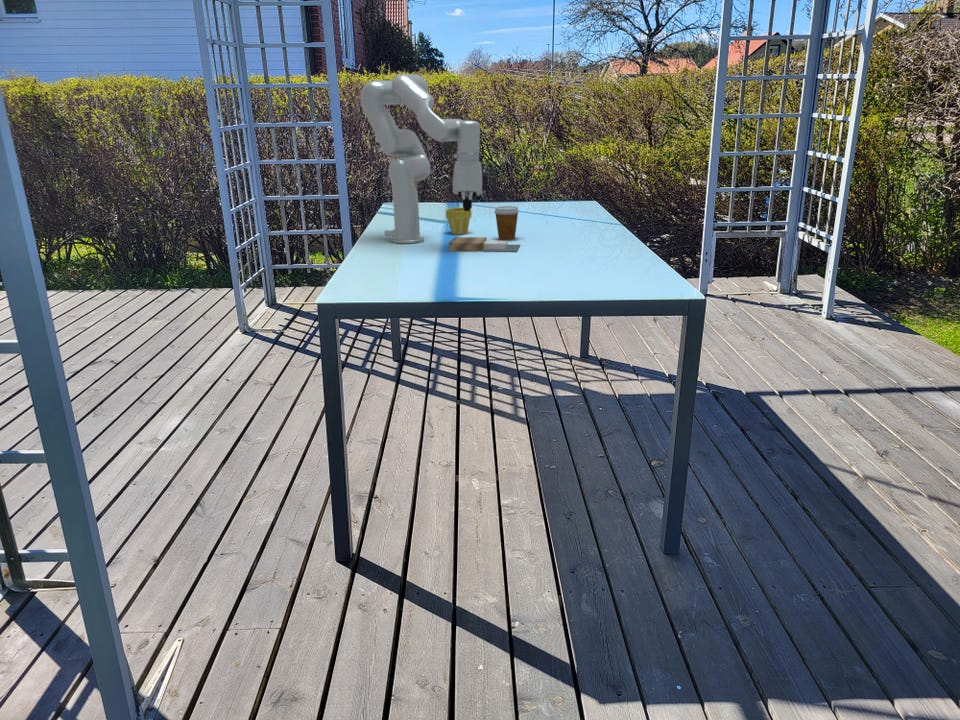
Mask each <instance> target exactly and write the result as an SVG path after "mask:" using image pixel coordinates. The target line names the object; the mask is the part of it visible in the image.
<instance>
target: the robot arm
mask: <svg viewBox="0 0 960 720" xmlns="http://www.w3.org/2000/svg"><path fill="white" fill-rule="evenodd" d="M428 91H429V85H428V82H427V81H426V79H425V78H424V77H423V76H421V75H419V74H407V73H402V74H398V75H397V76H395V77H394V78H393V79H392V80H387V79H386V80H385V79H384V80H382V79H381V80H380V79H378V80H377V79H375V80H370V81H368V82H366V83H364V85H363V86H362V89H361V92H360V104H361V108H362V111H363V113H364V115H365V117H366V119H367V120H368V122H369V123H370V125H371V128H372V130H373V133H374V134H375V137H376V138H377V141H378V143H379V145H380V147H381V150H382V151H383V153H384V154H385V155H386V156H389V157H394V158H393V159H392V160H391V161H390V163H389V165H388V176H389V180H390V184H391V191H392V202H393V207H392V208H393V219H394V220H393V222H394V229H392V230H384V236H387V237H392V238H391V241H390V242H392V243H395V244H416V243H422V242H423V241H425V237H424V236H422V235H421V234H420V233H421V231H420V230H421V229H420V214H419V213H420V211H419V195H418V190H417V187H416V185H415V183H414V182H421V181H423V180H426V179H427V178H428V177H429V176H430V173H431V163H430V160H429V159H428V156H427V153H426V152H425V150H424V148H423V145H422V143H421V141H420V139H419V137H418V135H417V134H416V133H415V132H414V131H412V130H411V129H406V128H405V129H401V128H398V126H397V124H396V122H395V120H394V118H393V116H392V114H391V112H389V111H388V110H387V109H386V108H385V105H386V106H387V105H388V106H389V105H390V106H391V105H394V106H395V105H402V104H403V105H405V106H406V107H408V109H409V110H410V111H412V112H413V113H414V114H415V115H416V120H417V122H418V125H419V127H420V128H421V130H422V131H424V132H425V134H427V135H428V136H429V137H430V138H431V139H432V140H434V141H436V142H439V143H446V142H457V152H456V153H454V154H453V158H454V159H456V161H454V167H453V175H452V193H453V194H454V195H458V196H459V197H460V198H461V199H462V208H464V211H470V209H471V210H472V205H473V199H474V198H475V197H476V196H479V195H480V196H481V195H483V193H484V192H483V168H482V163H481V161H480V141H481V140H480V139H481V138H480V132H481V128H480V127H481V126H480V123H479V122H478V121H476V120H463V119H460V118H440V117H439V116H438V115H437V114H436V113H434V112H433V110H432V109H433V107H434V106H435V105H434V104H435V99H434V97H433V95H431V94H430V92H428ZM467 192H469V194H468V197H467Z"/></svg>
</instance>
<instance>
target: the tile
mask: <svg viewBox="0 0 960 720" xmlns="http://www.w3.org/2000/svg"><path fill="white" fill-rule="evenodd" d="M507 245H508V240H487V241H485V242H484V243H483V249H506V248H507Z"/></svg>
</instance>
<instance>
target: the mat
mask: <svg viewBox="0 0 960 720" xmlns="http://www.w3.org/2000/svg"><path fill="white" fill-rule="evenodd" d="M520 247H521V244H507V248H506V249H484V250H483V251H482V252H483V253H518V251H519V249H520Z"/></svg>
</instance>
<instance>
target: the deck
mask: <svg viewBox="0 0 960 720" xmlns="http://www.w3.org/2000/svg"><path fill="white" fill-rule="evenodd" d="M487 239H488V237H484V236H483V237H482V236H480V237H479V236H478V237H477V236H475V237H473V236H468V237H467V236H465V237H464V236H462V237H461V236H457V237H456V236H454V237H453V238H452V239H451V240H450V241H449V242H448V252H475V253H477V251H482V252H483V251H484V249H483V243H484V242H485V241H488V240H487Z"/></svg>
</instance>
